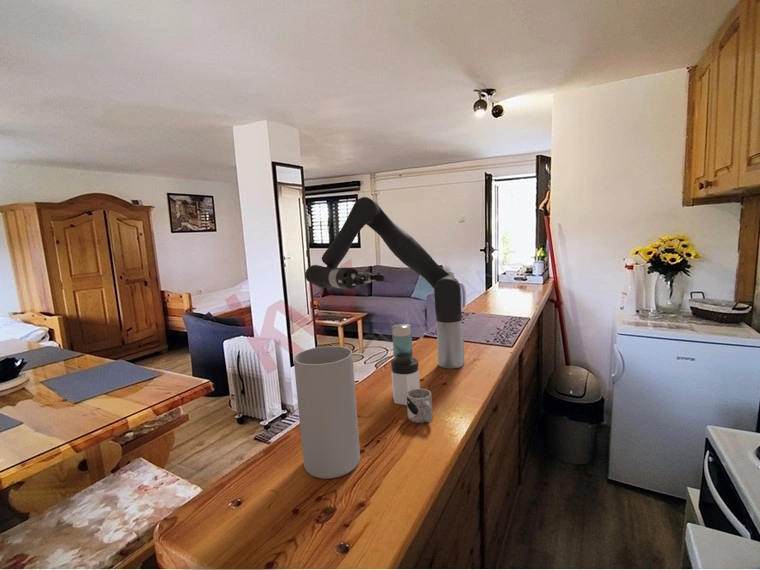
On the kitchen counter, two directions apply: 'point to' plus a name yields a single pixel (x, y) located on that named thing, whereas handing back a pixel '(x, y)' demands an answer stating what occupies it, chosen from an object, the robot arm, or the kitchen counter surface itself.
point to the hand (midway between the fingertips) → (373, 279)
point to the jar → (404, 380)
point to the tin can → (402, 344)
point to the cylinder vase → (327, 411)
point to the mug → (419, 406)
